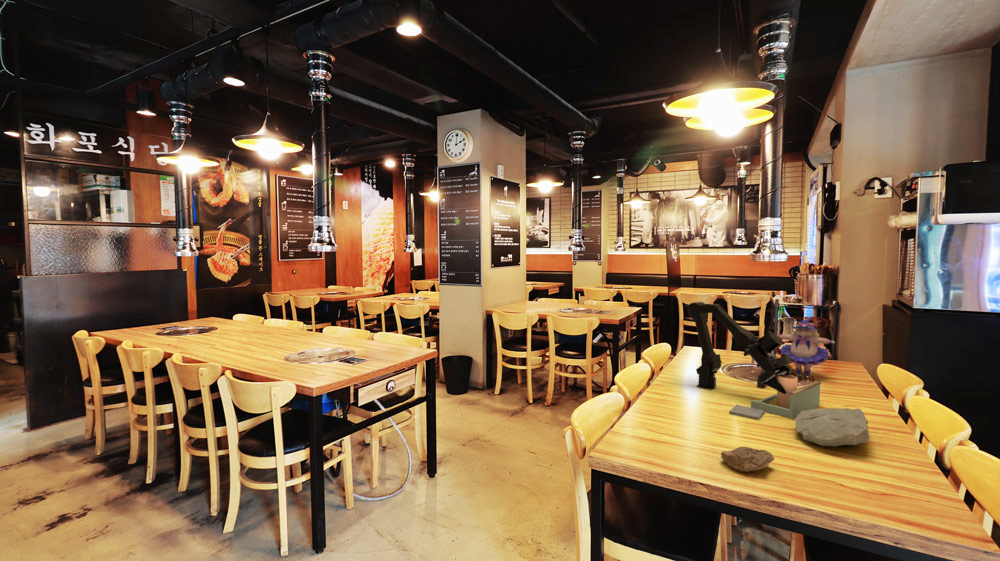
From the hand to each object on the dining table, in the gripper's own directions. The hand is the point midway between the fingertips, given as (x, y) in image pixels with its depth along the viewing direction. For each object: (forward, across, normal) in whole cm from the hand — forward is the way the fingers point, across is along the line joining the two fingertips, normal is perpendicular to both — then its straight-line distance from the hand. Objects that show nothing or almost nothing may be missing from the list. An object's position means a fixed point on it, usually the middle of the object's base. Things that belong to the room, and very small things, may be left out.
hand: (790, 391), depth 182 cm
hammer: (-12, +33, +22) cm, 41 cm away
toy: (-6, +55, +16) cm, 58 cm away
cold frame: (+4, 0, +6) cm, 7 cm away
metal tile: (0, -20, +10) cm, 22 cm away
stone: (+19, -20, -9) cm, 29 cm away
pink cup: (+4, 0, +6) cm, 7 cm away
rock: (+15, -66, -5) cm, 68 cm away
